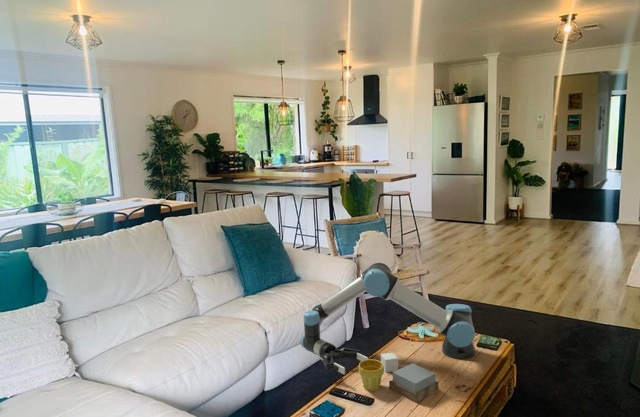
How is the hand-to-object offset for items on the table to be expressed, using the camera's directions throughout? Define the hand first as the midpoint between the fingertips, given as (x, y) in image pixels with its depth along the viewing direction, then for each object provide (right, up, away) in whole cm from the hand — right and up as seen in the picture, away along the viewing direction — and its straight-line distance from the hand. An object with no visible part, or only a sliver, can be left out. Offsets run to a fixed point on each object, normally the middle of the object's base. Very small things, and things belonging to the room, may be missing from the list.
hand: (356, 365), depth 197 cm
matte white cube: (+16, -4, +9) cm, 18 cm away
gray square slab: (+23, -3, -11) cm, 25 cm away
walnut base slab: (+23, -7, -10) cm, 26 cm away
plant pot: (+6, -7, -6) cm, 11 cm away
